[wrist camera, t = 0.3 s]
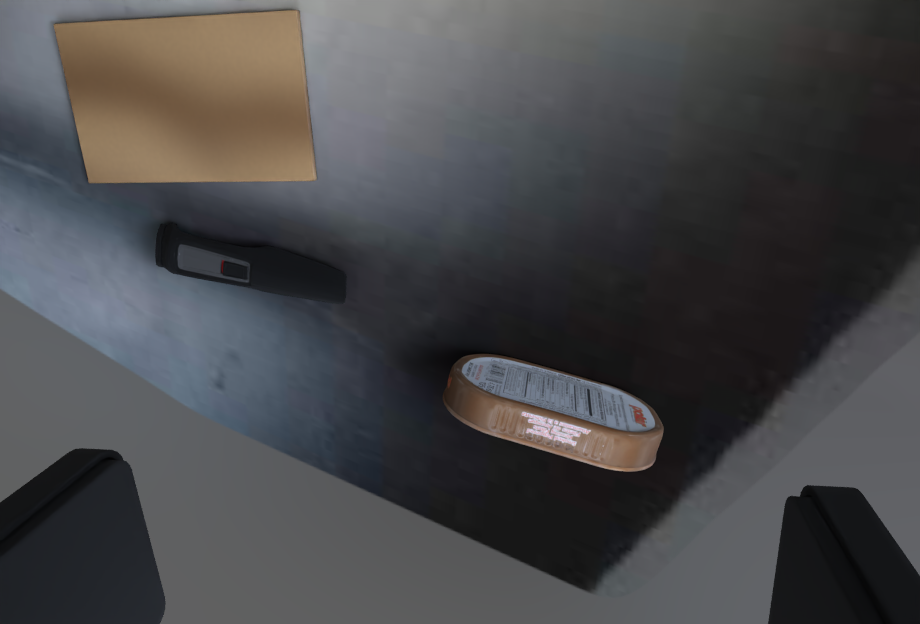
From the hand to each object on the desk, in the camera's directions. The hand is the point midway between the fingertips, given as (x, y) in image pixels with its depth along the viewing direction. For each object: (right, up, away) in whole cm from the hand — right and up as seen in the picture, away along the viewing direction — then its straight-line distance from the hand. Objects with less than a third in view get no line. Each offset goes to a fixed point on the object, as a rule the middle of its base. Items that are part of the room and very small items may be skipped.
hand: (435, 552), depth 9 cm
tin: (+7, -2, +39) cm, 39 cm away
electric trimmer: (-15, +7, +39) cm, 43 cm away
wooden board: (-19, +18, +36) cm, 45 cm away
